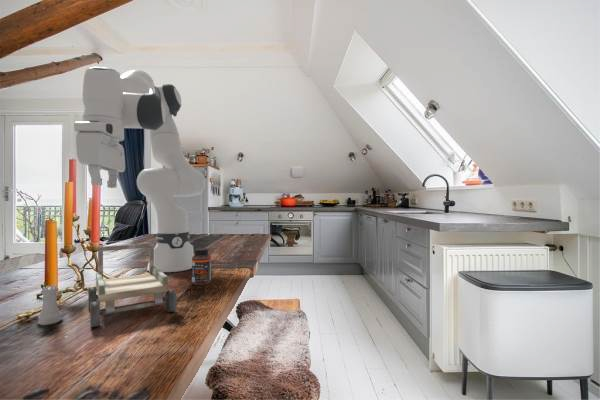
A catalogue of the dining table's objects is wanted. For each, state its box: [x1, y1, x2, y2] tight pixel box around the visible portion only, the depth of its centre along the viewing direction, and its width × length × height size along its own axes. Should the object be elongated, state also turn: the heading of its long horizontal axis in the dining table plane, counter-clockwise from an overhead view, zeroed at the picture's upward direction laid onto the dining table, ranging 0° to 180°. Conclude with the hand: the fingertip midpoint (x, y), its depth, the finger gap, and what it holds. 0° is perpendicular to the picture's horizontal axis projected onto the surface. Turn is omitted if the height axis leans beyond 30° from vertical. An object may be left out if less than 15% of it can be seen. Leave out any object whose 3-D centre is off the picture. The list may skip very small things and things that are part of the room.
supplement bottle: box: [191, 247, 212, 287], centre depth 104 cm, size 6×6×11 cm
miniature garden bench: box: [87, 242, 178, 328], centre depth 80 cm, size 19×17×15 cm
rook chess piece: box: [37, 284, 63, 326], centre depth 72 cm, size 4×4×8 cm
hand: (104, 186), depth 81 cm, fingers open, 8 cm apart
